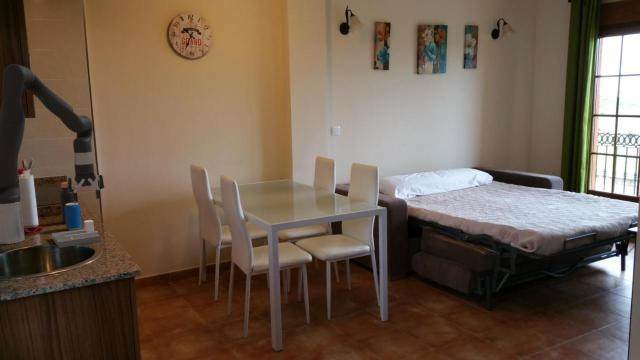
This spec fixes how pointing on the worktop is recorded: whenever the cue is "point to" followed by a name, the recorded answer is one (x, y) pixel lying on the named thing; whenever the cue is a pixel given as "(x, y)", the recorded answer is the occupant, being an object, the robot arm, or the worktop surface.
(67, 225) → the beverage can
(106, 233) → the worktop surface
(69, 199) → the bottle
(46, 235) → the worktop surface
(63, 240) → the fader console
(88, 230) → the fader tab
